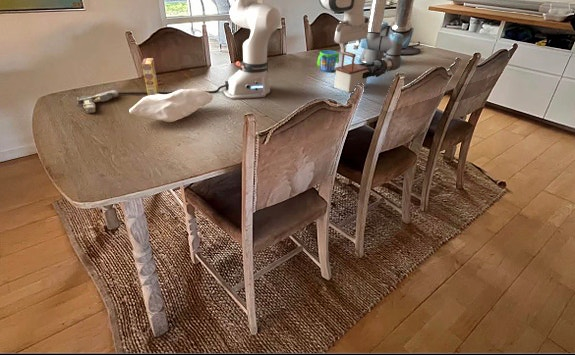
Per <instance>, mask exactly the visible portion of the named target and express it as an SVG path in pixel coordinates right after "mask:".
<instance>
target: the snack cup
mask: <svg viewBox="0 0 575 355" xmlns="http://www.w3.org/2000/svg"><path fill="white" fill-rule="evenodd" d="M339 62H340V54H339V52H338V51H336V50H331V49H325V50H324V49H323V50H320V51H319V55H318V57H317V61H316V66H318V67H320V70H321V71H323V72H327V73H329V72H330V73H331V72H334V71H335V68H336V63H337V64H339Z"/></svg>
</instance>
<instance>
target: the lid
mask: <svg viewBox="0 0 575 355" xmlns="http://www.w3.org/2000/svg"><path fill="white" fill-rule="evenodd" d="M345 56H346V57H350V58H351V63H349V64H344V63H345V62H344V61H345ZM356 56H357V55H356V54H355V53H353V52H350V51H349V52H348V51H345V52H343V53H342V52H341V65H340V66H337V67H336V66H335V68H334V71H336V70H337V71H340V72H343V73H346V74H349V75H350V74H353V73H357V72H361V71H364V70H368V67H365V66H362V65H358V64H359V63H356V62H355V58H356Z"/></svg>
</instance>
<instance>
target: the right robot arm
mask: <svg viewBox="0 0 575 355" xmlns="http://www.w3.org/2000/svg"><path fill="white" fill-rule="evenodd" d="M414 2H415V0H397V1H396V9H395V14H394V19H393V20H394V21H392V22H391V24H390V25H389V23H388V22H386V21H384V15H385V10H386V4H387V0H371V3H370V8H369V15H368V18H369V19H370V20H369V23H368V33H367V37H366V38H365V39H361V42H360V48H361V49H363V50H362V53H361V54H360V57H359V63H357V64H358V65H362V66H365V67H368V72H364V73H363V77H362V78H363V79H364V78H367V79H368V78H370V77H376V78H379V77H381V76H382V75H383V74H386V73H387V72H392V71H395V70H397V69H400V68H401V67H402V65H403V57H402V56H401V54H400V53H401V49H402V48H407V47H412V46H413V47H418V46H420V44H421V42H420V41H418V42H417V44H411V45H410V43H411V41H412V38H413V37H412V36H413V34H414V27H413V25H412V23H411V18H412V13H413V7H414ZM383 51H387V52H383Z"/></svg>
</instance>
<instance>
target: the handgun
mask: <svg viewBox="0 0 575 355" xmlns="http://www.w3.org/2000/svg"><path fill="white" fill-rule="evenodd" d="M119 96H120V94H118V91H117V90H116V89H112V90H108V91H105V92H104V91H103V92H101V93H96V94H94V95H86V94H85V95H84V94H83V95H81V96H80V97H77V98H76V101H77V104H78V105H82V108H83V109H84V110H85V113H87V114H91V113H95V112H96V104H95V103H98V102H106V101H109V100H111V99H113V98H117V97H119Z"/></svg>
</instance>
